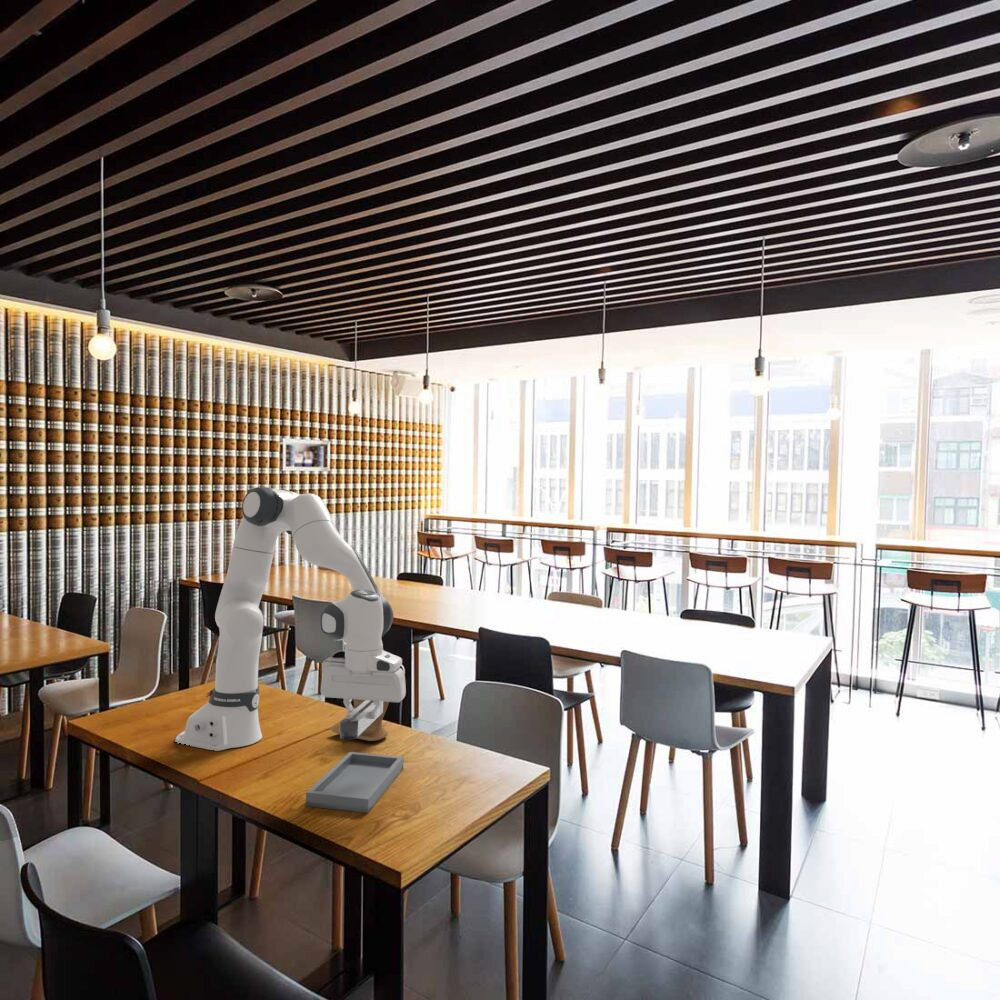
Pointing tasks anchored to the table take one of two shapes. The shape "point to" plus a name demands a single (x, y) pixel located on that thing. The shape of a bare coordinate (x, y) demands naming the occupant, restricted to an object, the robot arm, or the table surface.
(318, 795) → the utensil tray
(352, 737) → the steel tongs
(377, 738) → the stone cup
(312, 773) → the table surface
